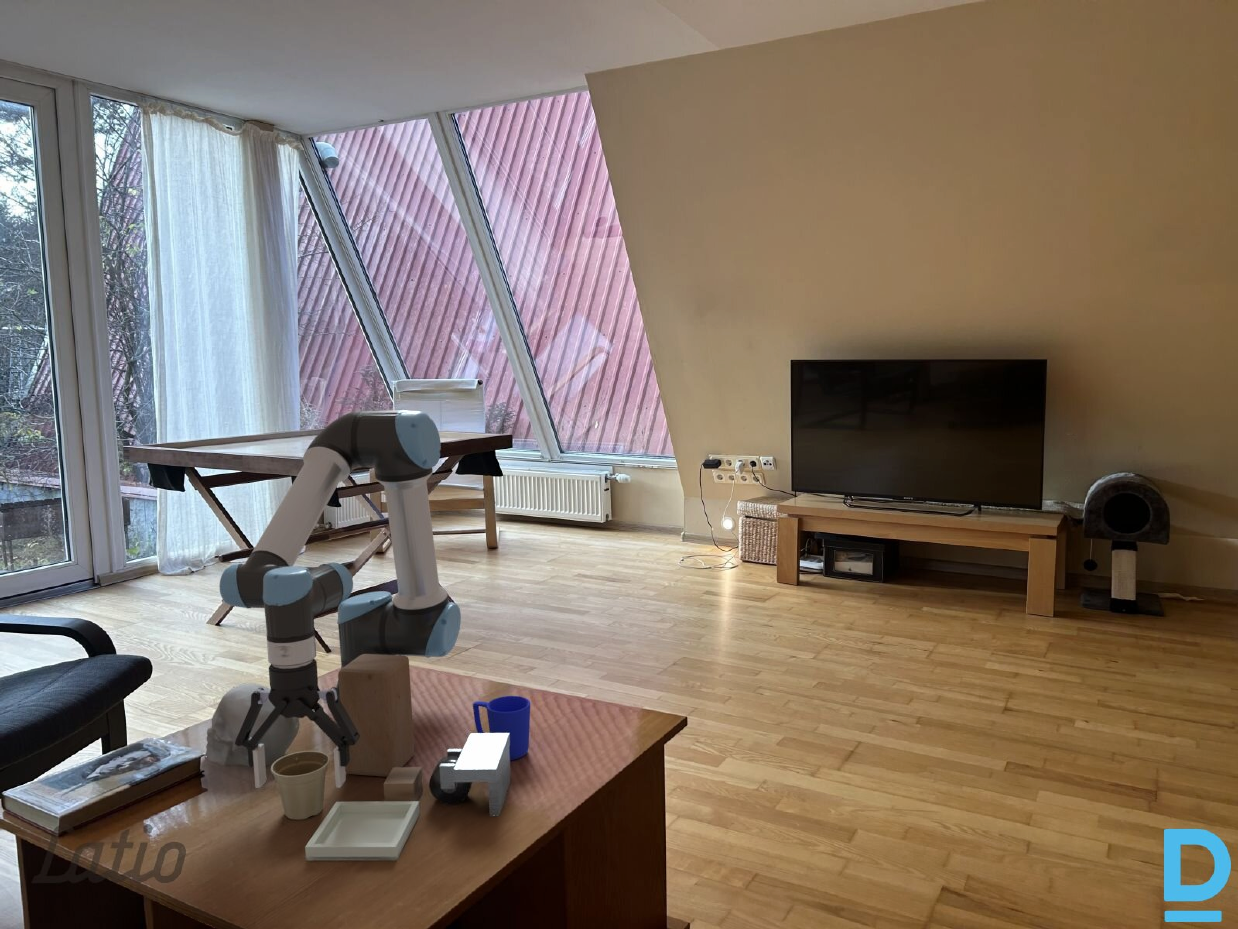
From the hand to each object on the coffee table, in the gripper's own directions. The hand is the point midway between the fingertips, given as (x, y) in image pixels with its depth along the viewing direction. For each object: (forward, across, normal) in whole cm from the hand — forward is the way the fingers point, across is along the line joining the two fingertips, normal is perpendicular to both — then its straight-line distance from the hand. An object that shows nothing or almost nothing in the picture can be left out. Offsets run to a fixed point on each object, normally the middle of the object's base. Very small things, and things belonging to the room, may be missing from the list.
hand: (300, 784), depth 156 cm
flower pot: (+5, 0, 0) cm, 5 cm away
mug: (+5, +30, +22) cm, 38 cm away
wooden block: (+5, +8, +17) cm, 20 cm away
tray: (+5, +13, -8) cm, 16 cm away
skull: (+5, -18, +22) cm, 29 cm away
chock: (+5, +16, +4) cm, 17 cm away
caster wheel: (+5, +27, +4) cm, 27 cm away
